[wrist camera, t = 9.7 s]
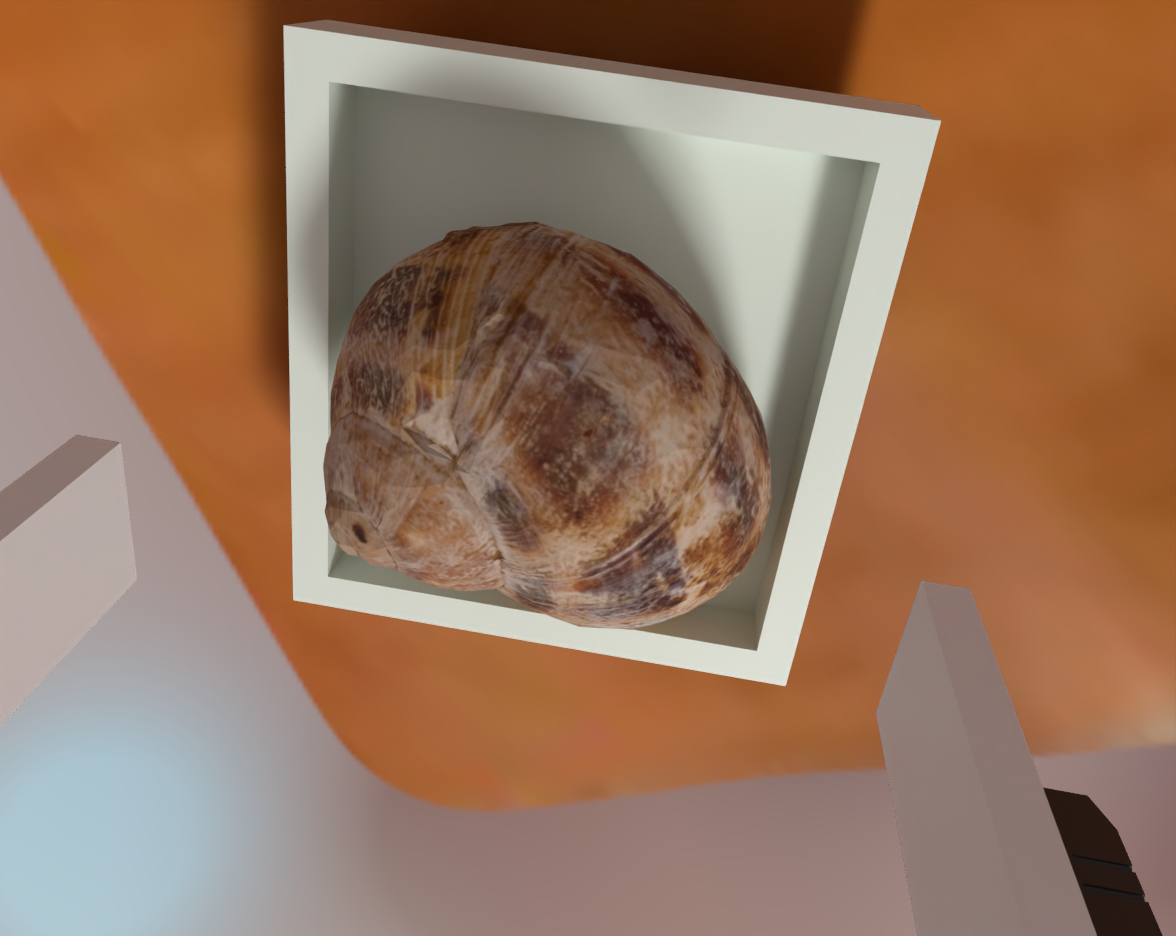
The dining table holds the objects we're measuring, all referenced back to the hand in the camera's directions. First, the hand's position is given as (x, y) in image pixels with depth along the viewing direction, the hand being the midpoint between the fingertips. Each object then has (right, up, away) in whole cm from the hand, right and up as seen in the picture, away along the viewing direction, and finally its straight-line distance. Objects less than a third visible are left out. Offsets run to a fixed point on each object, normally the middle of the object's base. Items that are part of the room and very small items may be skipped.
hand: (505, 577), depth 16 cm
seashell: (+1, +3, +10) cm, 11 cm away
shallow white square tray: (+1, +6, +13) cm, 14 cm away
